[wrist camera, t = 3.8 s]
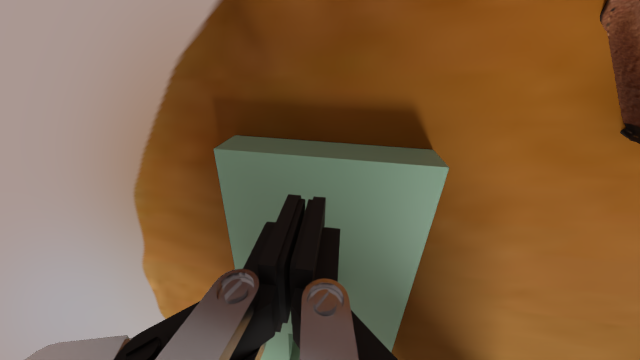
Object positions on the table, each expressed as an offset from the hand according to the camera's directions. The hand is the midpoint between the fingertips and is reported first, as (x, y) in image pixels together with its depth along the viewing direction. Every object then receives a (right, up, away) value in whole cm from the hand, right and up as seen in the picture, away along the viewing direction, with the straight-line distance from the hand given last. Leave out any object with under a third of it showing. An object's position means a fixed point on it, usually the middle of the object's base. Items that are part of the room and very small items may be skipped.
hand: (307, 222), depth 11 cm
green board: (+1, -7, +12) cm, 14 cm away
